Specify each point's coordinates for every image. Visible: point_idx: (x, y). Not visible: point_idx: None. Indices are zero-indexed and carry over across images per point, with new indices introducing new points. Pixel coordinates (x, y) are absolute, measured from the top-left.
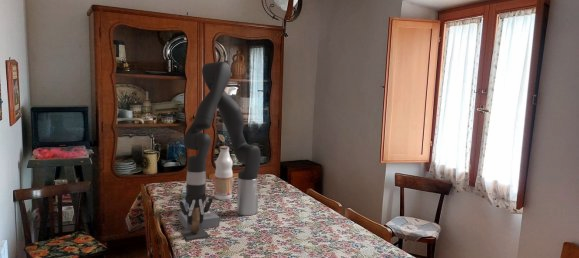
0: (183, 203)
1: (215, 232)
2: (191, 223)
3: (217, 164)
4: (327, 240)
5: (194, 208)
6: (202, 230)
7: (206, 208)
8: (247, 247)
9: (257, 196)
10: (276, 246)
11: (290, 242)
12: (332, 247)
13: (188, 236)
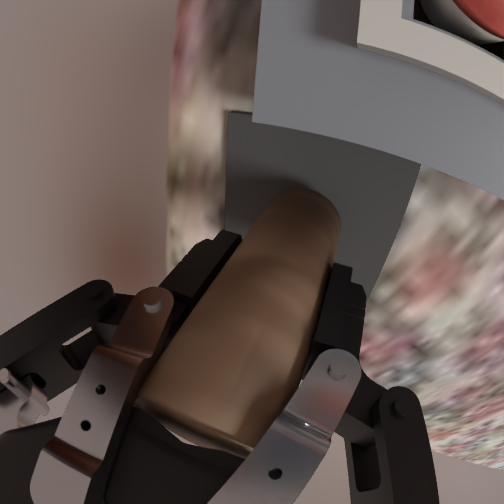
0: (30, 406)
1: (445, 268)
2: None
3: None
4: None
5: (177, 434)
6: (389, 201)
7: (350, 465)
8: None
9: None
10: (448, 435)
11: (487, 434)
12: (491, 455)
13: (244, 231)
